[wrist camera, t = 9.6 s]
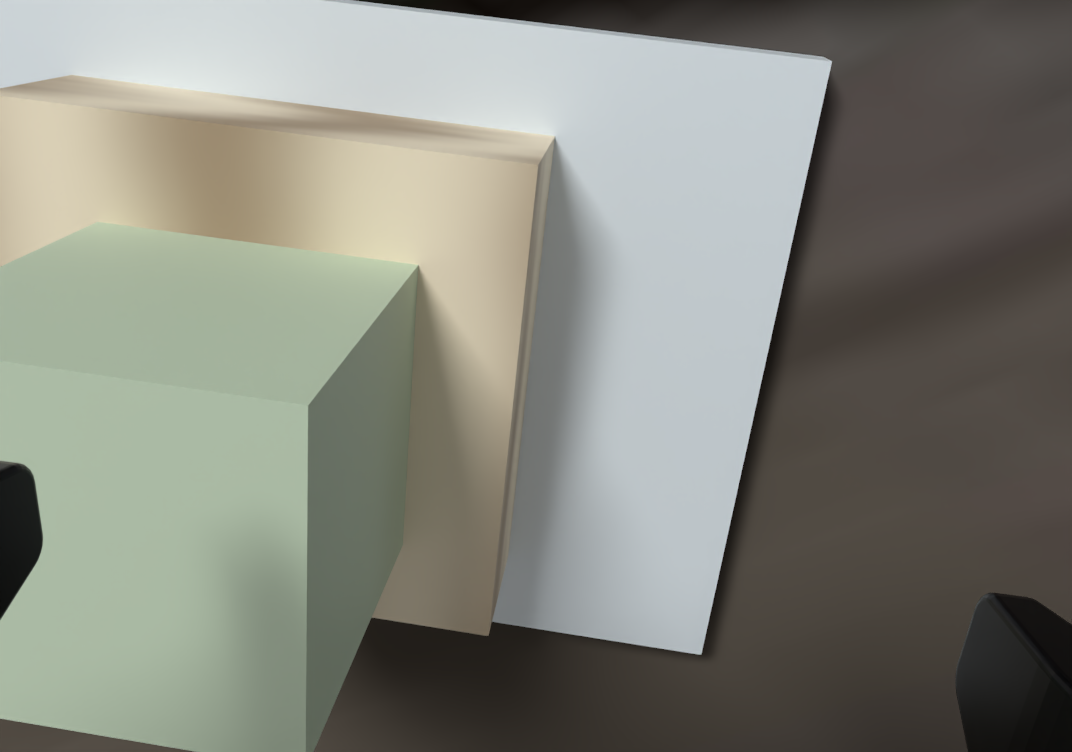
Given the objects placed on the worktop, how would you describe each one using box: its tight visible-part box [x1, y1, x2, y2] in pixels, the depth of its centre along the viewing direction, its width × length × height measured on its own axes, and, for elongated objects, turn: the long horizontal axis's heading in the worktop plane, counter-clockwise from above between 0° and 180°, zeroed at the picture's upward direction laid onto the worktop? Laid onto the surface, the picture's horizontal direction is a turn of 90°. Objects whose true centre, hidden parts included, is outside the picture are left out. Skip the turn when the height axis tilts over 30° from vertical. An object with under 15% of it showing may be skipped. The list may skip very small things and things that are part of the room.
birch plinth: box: [0, 75, 555, 636], centre depth 20 cm, size 10×10×3 cm
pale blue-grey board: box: [0, 0, 832, 655], centre depth 22 cm, size 20×14×1 cm
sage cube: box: [0, 222, 418, 752], centre depth 16 cm, size 6×6×6 cm
